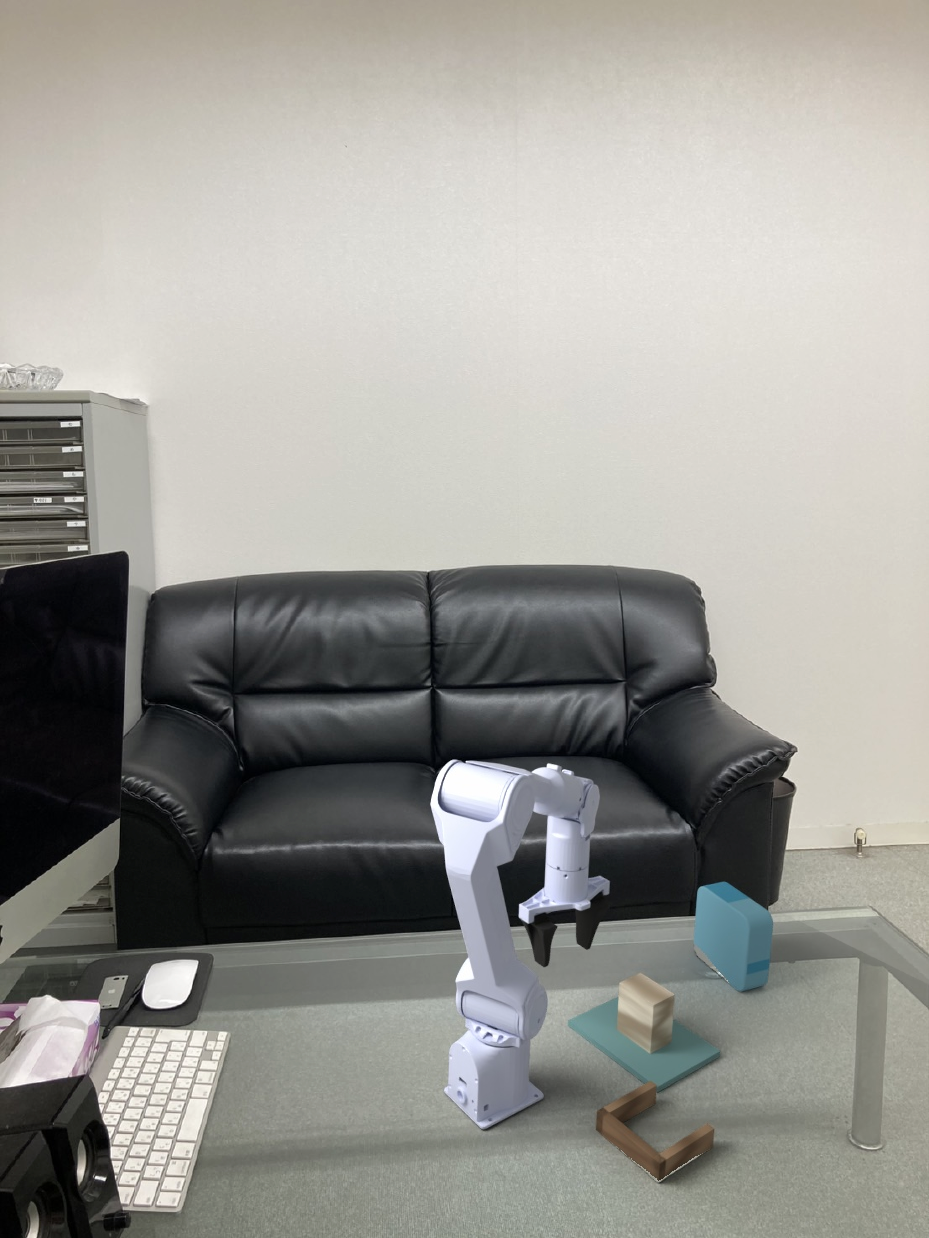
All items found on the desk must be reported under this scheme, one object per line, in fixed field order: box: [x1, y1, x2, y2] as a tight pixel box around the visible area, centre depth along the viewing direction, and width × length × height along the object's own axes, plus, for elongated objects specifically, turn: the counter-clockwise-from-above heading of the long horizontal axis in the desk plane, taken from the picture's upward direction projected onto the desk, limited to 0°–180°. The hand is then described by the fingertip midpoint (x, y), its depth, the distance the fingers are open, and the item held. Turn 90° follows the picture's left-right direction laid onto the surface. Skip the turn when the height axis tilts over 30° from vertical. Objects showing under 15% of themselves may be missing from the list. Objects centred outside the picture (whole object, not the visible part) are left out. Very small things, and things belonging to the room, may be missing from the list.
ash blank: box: [617, 972, 676, 1054], centre depth 124 cm, size 4×6×7 cm, turn 36°
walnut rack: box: [595, 1081, 715, 1181], centre depth 107 cm, size 9×10×2 cm
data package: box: [693, 881, 774, 992], centre depth 140 cm, size 12×4×12 cm, turn 23°
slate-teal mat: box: [567, 995, 721, 1094], centre depth 125 cm, size 12×16×1 cm
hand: (562, 954), depth 127 cm, fingers open, 7 cm apart
